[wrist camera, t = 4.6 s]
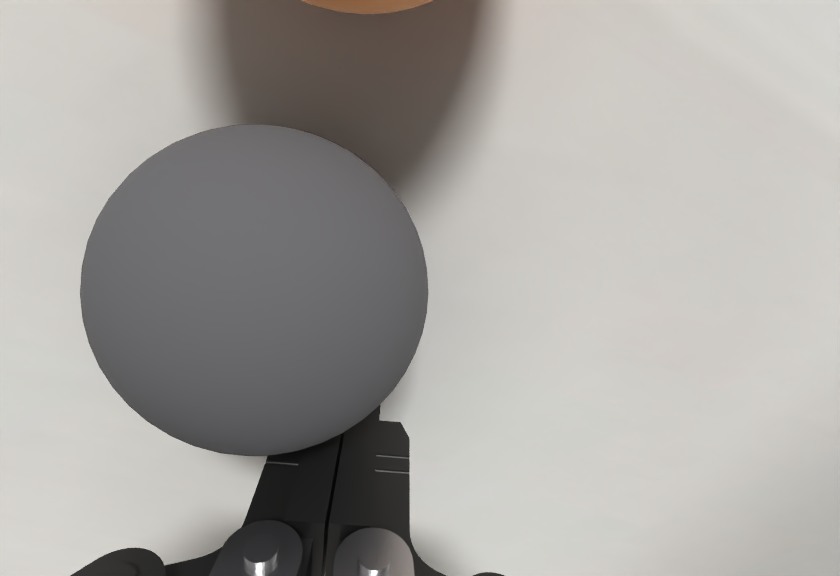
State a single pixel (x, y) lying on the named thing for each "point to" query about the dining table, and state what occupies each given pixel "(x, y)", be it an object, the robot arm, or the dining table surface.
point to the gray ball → (254, 290)
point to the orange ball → (367, 5)
